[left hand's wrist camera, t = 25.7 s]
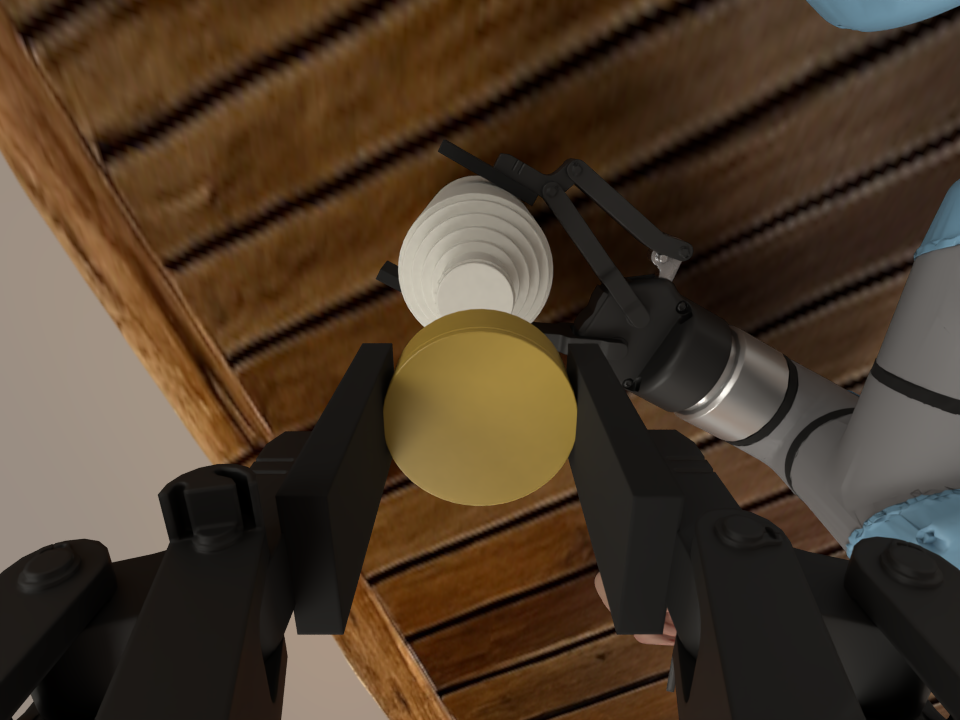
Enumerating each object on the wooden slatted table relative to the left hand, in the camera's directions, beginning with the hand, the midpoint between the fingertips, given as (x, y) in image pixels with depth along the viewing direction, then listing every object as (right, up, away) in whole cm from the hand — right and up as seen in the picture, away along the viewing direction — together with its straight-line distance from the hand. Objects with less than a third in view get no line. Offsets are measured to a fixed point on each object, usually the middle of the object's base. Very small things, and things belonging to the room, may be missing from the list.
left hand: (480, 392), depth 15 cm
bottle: (0, +11, +28) cm, 30 cm away
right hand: (-4, +10, +21) cm, 24 cm away
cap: (0, -1, -1) cm, 2 cm away
